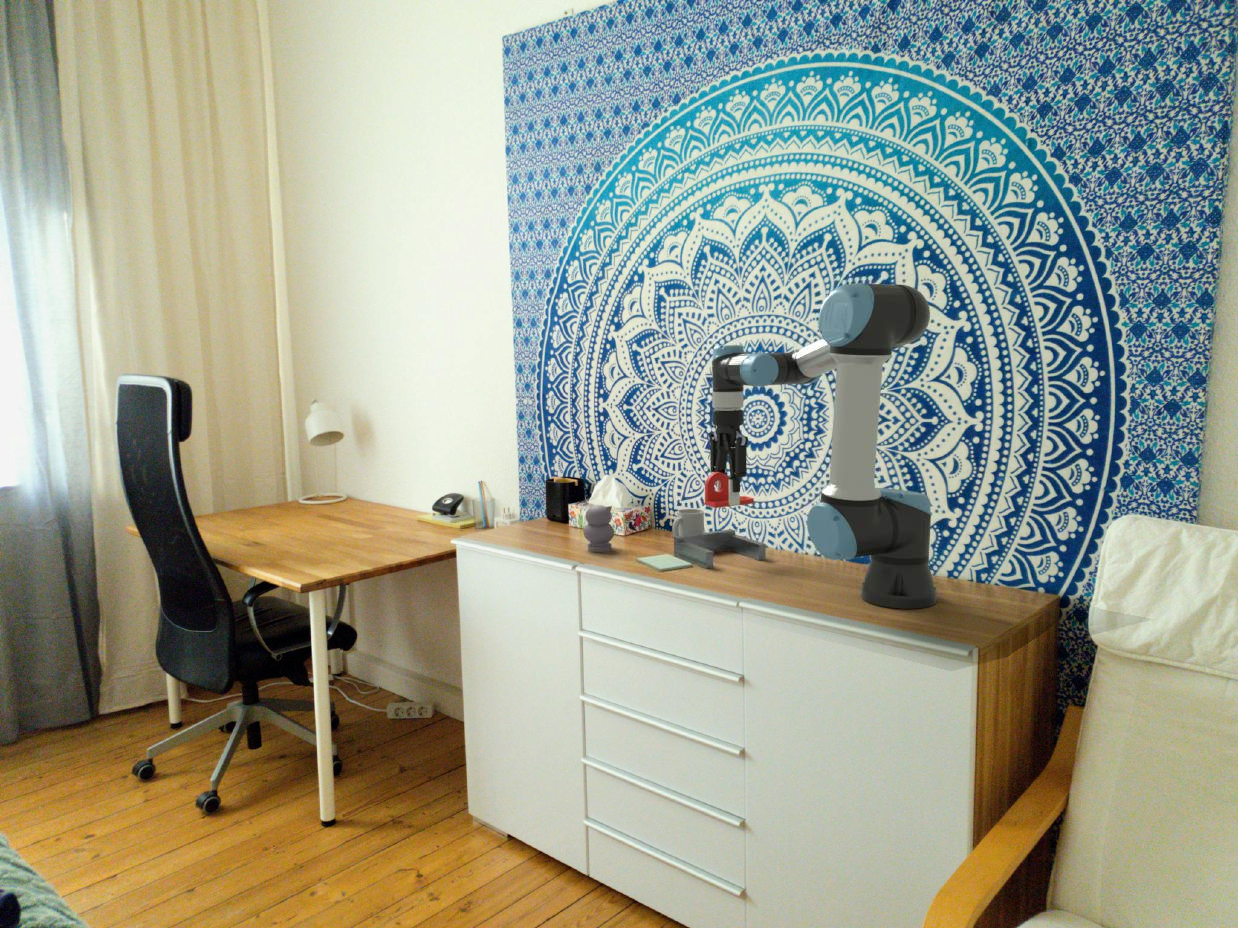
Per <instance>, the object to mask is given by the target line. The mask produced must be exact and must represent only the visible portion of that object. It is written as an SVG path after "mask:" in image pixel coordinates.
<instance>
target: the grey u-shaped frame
mask: <svg viewBox="0 0 1238 928" xmlns="http://www.w3.org/2000/svg"><path fill="white" fill-rule="evenodd" d="M766 545H767V544H766V543H764V542H761V541H758V540H754V539H751V538H748V537H745V536H741V535H739V534H736V530H735V529H732V528H731V529H730V528H729V529H724V530H716V531H708V532H704V533H699V534H691V535H684V536H676V537H673V557H676V558H679V559H681V560H684V561H686V562H689V563H691V564H693V565H696V566H698V567H701V568H704V569H713V568H714V553H719V552H725V551H730V552H733V553H736V554H739V555H742V556H744V557H748V558H750V559H753V560H756V561H765V560H766V559H767V558H766V553H767V551H766V547H767V546H766Z"/></svg>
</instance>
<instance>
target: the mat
mask: <svg viewBox="0 0 1238 928" xmlns="http://www.w3.org/2000/svg"><path fill="white" fill-rule="evenodd" d="M636 562H638V563H641V564H642V565H645V566H648V567H650V568H653V570H654V569H655V570H657V571H659V572H664V571H665V572H666V571H672V570H673V571H674V570H678V569H685V568H692V567H693V566H694V564H693V563H691V562H688V561H686V560H683V559H681V558H678V557H675V556H674V555H670V554H668V553H666V554H657V555H651V556H644V557H638V558H636Z"/></svg>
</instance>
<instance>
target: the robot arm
mask: <svg viewBox="0 0 1238 928" xmlns="http://www.w3.org/2000/svg"><path fill="white" fill-rule="evenodd" d="M930 320H931V310H930V306H929V303H928V300H927V299H926V297H925V295H923V293H922V292H921V291H920V290H918V289H916V288H915V287H913V286H910V285H906V284H896V283H895V284H894V283H893V284H889V283H888V284H887V283H886V284H884V283H883V284H880V283H878V284H877V283H864V282H859V283H848V284H846V283H845V284H842V285H839V286H837V287H836V288H835V287H834V289H833V290H831V291H830V293H829V295H827V296H826V297H825V299H824V300H823V303H822V305H821V307H820V311H819V314H818V323H817V324H818V331H819V333H820V334H821V335H820V336H821V338H820V339H818V340H815V341H814V342H812V343H809V344H807V345H805V346H803V347H802V348H799V349H797V350H795V351H792V352H753V353H752V352H750V353H745V349H744V346H743V345H741V344H727V345H726V344H724V345H723V344H722V345H720V344H719V345H715V346H714V347H713V349H712V360H711V367H712V368H711V371H712V372H711V378H712V393H711V394H712V401H711V404H712V406H711V407H712V408H713V411H712V425H714V426H715V427H716V429H715V432H709V433H708V439H709V442H710V443H709V444H710V446H709V447H710V449H709V451H710V452H709V453H710V454H709V455H710V456H709V457H710V460H709V461H710V472H711V473H714V472H721V473H724V474H726V475H727V476H728V474H730V476H728V478H729V506H728V507H735V506H734V505H737V506H741V505H740V496H741V495H740V493H741V492H740V491H741V479H742V478H746V477H747V457H748V456H747V454H748V451H747V447H748V442H749V437H748V436H743V435H742V432H741V426H743V425H744V422H745V421H744V417H745V416H744V415H745V414H744V413H745V412H744V409H742V408H744V391H745V390H744V386H749V387H752V388H753V387H754V388H758V387H760V388H761V387H762V388H763V387H767V386H777V385H778V386H779V385H781V386H782V385H808V384H814V383H816V382H818V381H820V378H821V377H822V376H823V375H824V374H826V373H828V372H831V371H833V370H836V375H835V390H834V405H833V407H834V408H833V421H832V438H831V453H830V454H831V455H830V469H829V470H830V472H829V482H828V483H827V484H826V485H825V486H824V487H823V488H821V489H820V490H821V491H820V502H817V503H815V504H814V505H812V506H811V509H809V511H808V513H807V517H806V527H807V533H808V535H809V539H810V541H811V543H812V544H813V546H814V548H815V549H816V551H817V552H819V554H820V555H822V556H823V557H825V558H826V559H829V560H831V561H832V560H833V561H840V560H846V561H850V560H853V559H858V558H864V557H869V556H870V561H869V564H868V568H867V570H866V573H865V577H864V581H862V584H861V587H860V589H861V590H860V591H861V592H860V596H861V597H860V598H861V599H862V600H863V601H865V602H868V603H870V604H873V605H876V606H879V607H885V608H891V609H902V610H903V609H904V610H907V609H908V610H911V609H923V608H928V607H932V606H934V605H935V604H936V603H937V601H938V600H937V598H938V597H937V593H938V591H937V588H936V586H935V585H934V580H933V579H934V578H933V574H932V572H931V568H930V544H931V543H930V540H931V521H932V520H931V519H932V512H931V500H930V497H929V496H927V494H924V493H921V492H917V491H912V490H904V489H897V488H887V487H876V485H875V474H876V461H877V447H878V446H877V445H878V433H879V420H880V418H879V417H880V407H881V405H880V404H881V390H882V378H883V365H884V364H885V362H887V361H888V360H889V359H890V358H891V357H892V354H893V350H896V349H899V348H900V347H903V346H906V345H908V344H910V343H913V342H915V341H917V340H918V339H919V338H920V337H921V336H923V334H924V333H925V332H926V330H927V328H928V327H929V324H930V323H929V322H930ZM727 463H728V464H729V465H728V464H727ZM727 465H728V466H729V472H730V473H728V472H727V471H726V470H727ZM715 486H716V491H719V490H720V488H721V482H720V481H717V482H716V483H715Z"/></svg>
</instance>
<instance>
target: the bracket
mask: <svg viewBox="0 0 1238 928" xmlns="http://www.w3.org/2000/svg"><path fill="white" fill-rule="evenodd" d="M728 477H729V476H728V474H727V475H726V474H724V473H721V472H711V474H710V475H708V477H707V478H706V481H705V484H704V506H707V507H709V508H710V507H711V508H713V509H718V508H726V507H727V508H728V507H730V506H729V478H728ZM717 481H720V482H721V488H720V490H719V491H717V490H716V489H715V486H716V482H717ZM754 499H755V498H754V497H750V496H747V495H742V496H741V495H740V505H739V506H742V505H751V504H752V505H753V504H754V503H755V501H754ZM735 506H738V505H734V506H733V507H735Z"/></svg>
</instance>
